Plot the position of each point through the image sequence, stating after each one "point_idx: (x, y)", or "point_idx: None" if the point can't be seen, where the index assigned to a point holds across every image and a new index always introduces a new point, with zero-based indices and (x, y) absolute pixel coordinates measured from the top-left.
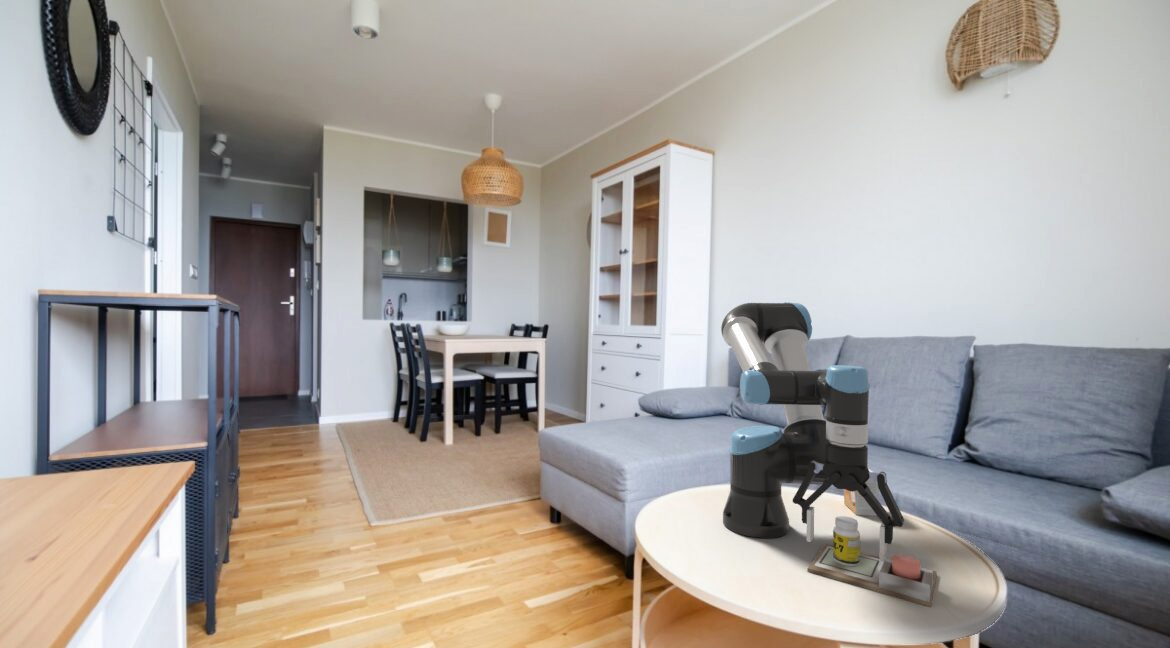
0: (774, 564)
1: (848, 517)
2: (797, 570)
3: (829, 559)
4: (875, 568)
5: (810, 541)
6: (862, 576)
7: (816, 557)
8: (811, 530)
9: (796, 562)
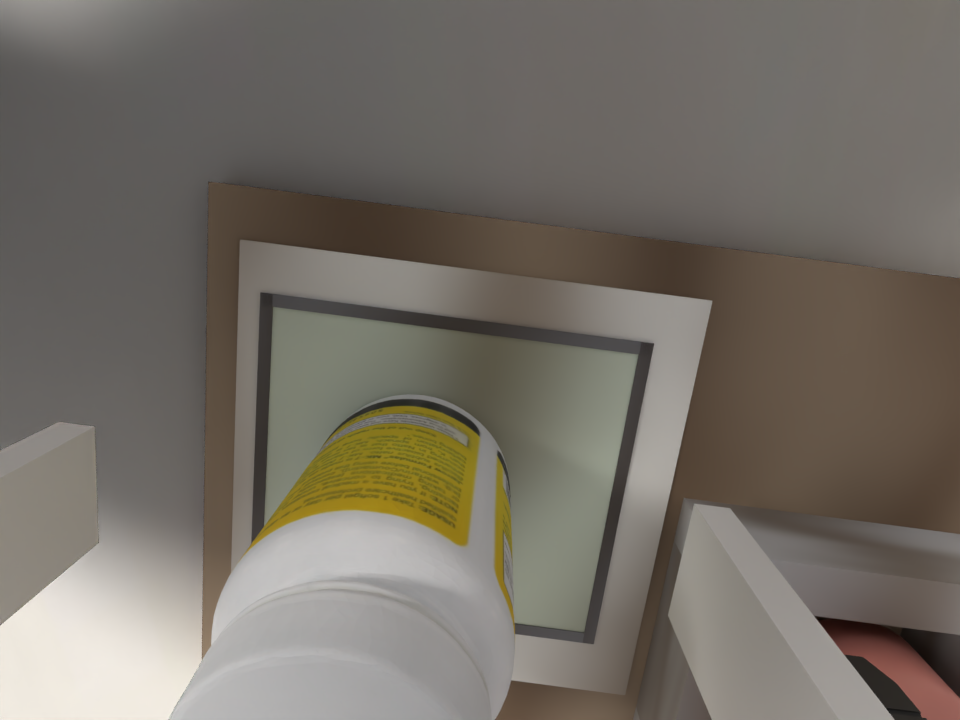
0: (14, 672)
1: (333, 682)
2: (158, 683)
3: None
4: (619, 503)
5: (94, 542)
6: (534, 655)
7: (213, 510)
8: (18, 571)
9: (118, 581)
